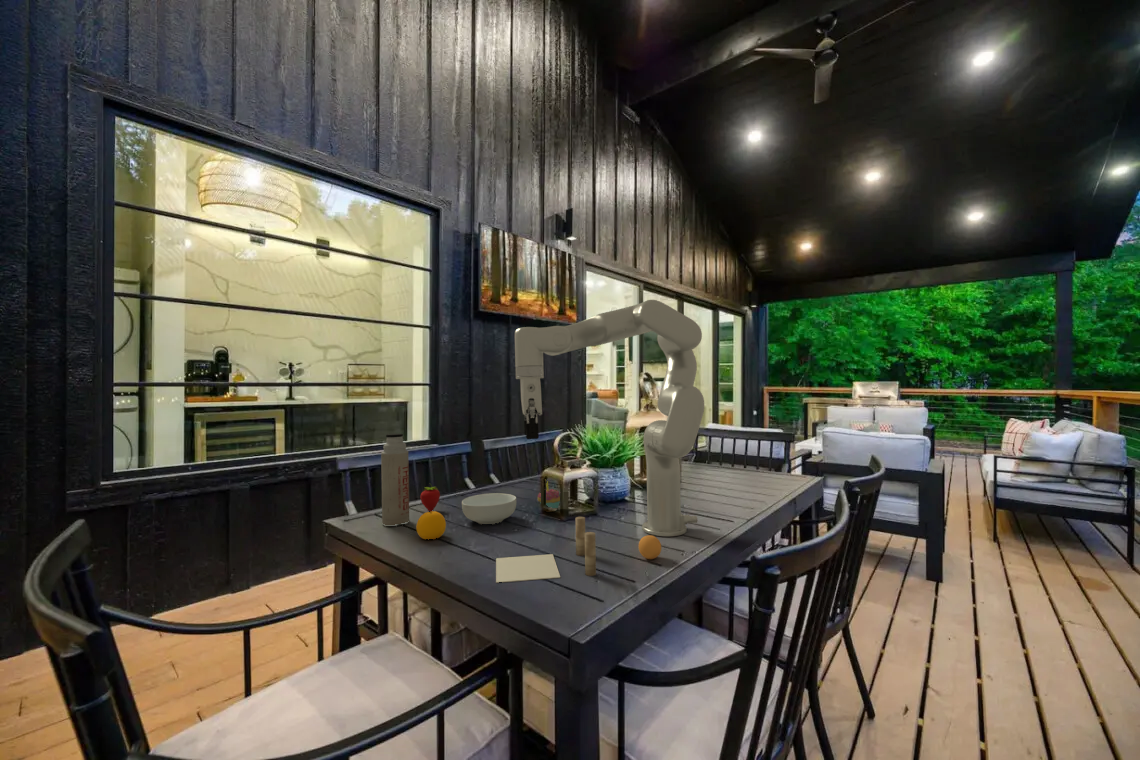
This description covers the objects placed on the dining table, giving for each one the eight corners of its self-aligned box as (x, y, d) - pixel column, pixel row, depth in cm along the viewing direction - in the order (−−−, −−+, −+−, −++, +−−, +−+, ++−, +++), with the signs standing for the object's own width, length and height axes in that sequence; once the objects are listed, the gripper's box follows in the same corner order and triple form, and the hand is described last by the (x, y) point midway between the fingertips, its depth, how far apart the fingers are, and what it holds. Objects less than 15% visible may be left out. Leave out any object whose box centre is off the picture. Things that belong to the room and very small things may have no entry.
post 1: (584, 552, 119) (584, 516, 119) (586, 555, 117) (585, 519, 117) (575, 552, 119) (574, 517, 119) (576, 556, 116) (576, 519, 116)
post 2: (594, 571, 107) (594, 531, 107) (597, 575, 105) (596, 535, 105) (584, 572, 107) (583, 532, 107) (586, 576, 104) (585, 535, 104)
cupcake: (554, 515, 153) (553, 478, 153) (532, 512, 157) (531, 476, 157) (567, 508, 160) (566, 473, 160) (546, 506, 164) (545, 471, 165)
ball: (657, 553, 117) (656, 531, 117) (664, 561, 112) (664, 538, 112) (635, 555, 116) (635, 532, 117) (642, 563, 111) (642, 540, 111)
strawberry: (416, 514, 157) (415, 484, 157) (429, 508, 164) (429, 479, 164) (431, 515, 155) (431, 485, 155) (444, 509, 162) (443, 480, 162)
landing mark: (552, 554, 118) (552, 554, 118) (560, 577, 104) (560, 576, 104) (496, 559, 115) (496, 558, 115) (496, 582, 102) (496, 582, 102)
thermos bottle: (414, 521, 148) (413, 432, 148) (393, 528, 142) (391, 435, 142) (398, 518, 153) (397, 431, 153) (376, 524, 146) (375, 434, 146)
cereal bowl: (507, 511, 159) (507, 490, 159) (524, 524, 144) (523, 501, 144) (456, 518, 151) (456, 496, 152) (469, 532, 136) (468, 508, 137)
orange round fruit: (422, 544, 127) (422, 517, 127) (412, 537, 133) (412, 511, 133) (450, 538, 132) (450, 511, 132) (439, 531, 138) (439, 506, 138)
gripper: (546, 372, 119) (548, 439, 119) (540, 373, 136) (542, 432, 136) (516, 373, 118) (518, 441, 118) (514, 374, 135) (516, 433, 135)
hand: (531, 436), depth 127 cm, fingers open, 9 cm apart
